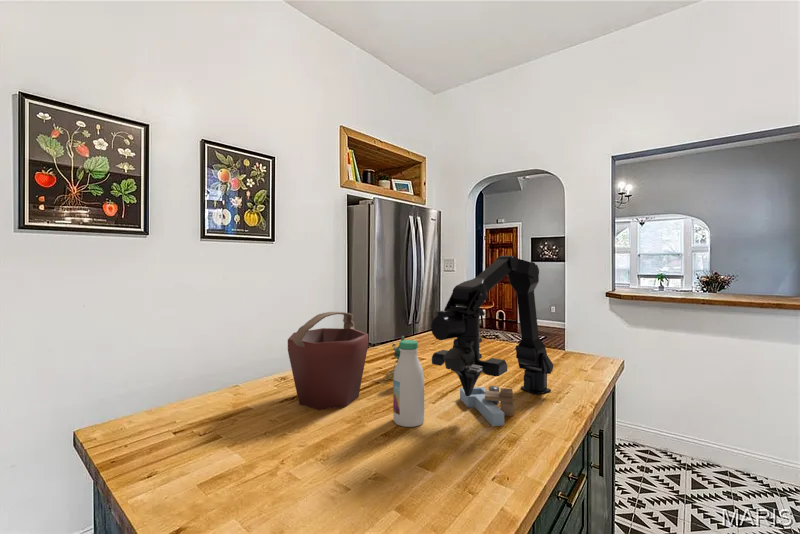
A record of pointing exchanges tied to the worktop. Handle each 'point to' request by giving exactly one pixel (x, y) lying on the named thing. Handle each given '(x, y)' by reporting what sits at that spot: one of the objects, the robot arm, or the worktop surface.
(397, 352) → the frog figurine
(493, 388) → the pintle
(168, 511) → the worktop surface
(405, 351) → the milk bottle
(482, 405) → the link
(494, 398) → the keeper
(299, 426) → the worktop surface
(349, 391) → the bucket
